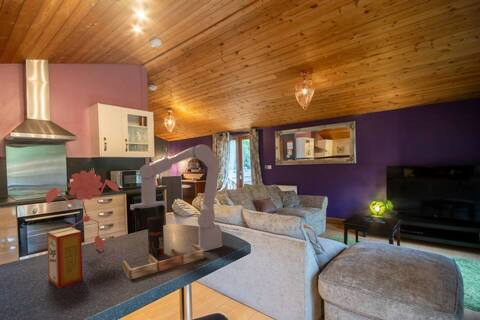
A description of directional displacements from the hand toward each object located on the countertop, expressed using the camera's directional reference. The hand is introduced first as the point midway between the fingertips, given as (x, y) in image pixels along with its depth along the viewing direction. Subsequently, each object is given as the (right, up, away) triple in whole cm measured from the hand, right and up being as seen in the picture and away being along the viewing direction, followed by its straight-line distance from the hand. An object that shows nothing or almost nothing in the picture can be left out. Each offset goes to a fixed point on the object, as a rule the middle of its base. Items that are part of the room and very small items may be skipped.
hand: (148, 224), depth 107 cm
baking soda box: (-17, -11, -26) cm, 34 cm away
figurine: (-23, -12, -6) cm, 26 cm away
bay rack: (+12, -10, -15) cm, 22 cm away
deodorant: (+6, -11, -7) cm, 14 cm away
